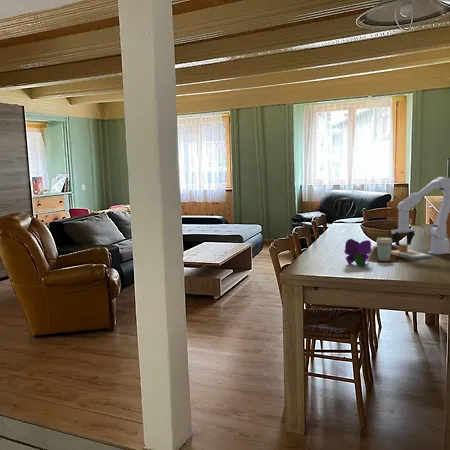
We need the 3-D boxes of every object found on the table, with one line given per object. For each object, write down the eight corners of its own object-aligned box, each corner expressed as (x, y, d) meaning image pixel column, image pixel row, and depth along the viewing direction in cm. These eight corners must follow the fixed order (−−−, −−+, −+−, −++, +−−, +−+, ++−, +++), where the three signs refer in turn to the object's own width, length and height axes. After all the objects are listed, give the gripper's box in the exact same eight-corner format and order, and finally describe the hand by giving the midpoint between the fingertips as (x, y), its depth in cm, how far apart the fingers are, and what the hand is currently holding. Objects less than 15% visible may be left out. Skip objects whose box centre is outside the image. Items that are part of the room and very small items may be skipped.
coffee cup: (391, 258, 259) (391, 237, 257) (392, 261, 251) (393, 239, 249) (375, 258, 261) (375, 237, 260) (376, 261, 253) (376, 239, 252)
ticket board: (417, 254, 268) (417, 251, 268) (431, 258, 257) (431, 255, 257) (397, 256, 265) (397, 253, 265) (411, 259, 253) (411, 257, 253)
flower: (375, 276, 240) (368, 260, 251) (381, 254, 231) (372, 238, 242) (347, 278, 240) (341, 261, 251) (352, 255, 231) (345, 239, 242)
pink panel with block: (408, 251, 276) (408, 242, 275) (417, 253, 269) (417, 244, 268) (389, 253, 273) (389, 244, 272) (397, 255, 265) (397, 246, 265)
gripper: (409, 220, 274) (409, 243, 276) (388, 222, 270) (388, 245, 272) (417, 221, 267) (417, 245, 269) (395, 223, 264) (395, 246, 265)
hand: (403, 245), depth 270 cm, fingers open, 7 cm apart
